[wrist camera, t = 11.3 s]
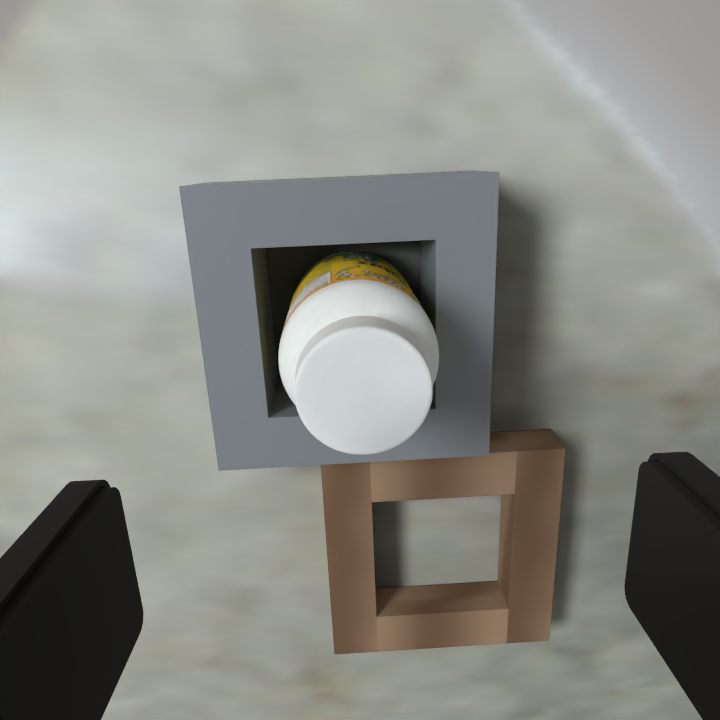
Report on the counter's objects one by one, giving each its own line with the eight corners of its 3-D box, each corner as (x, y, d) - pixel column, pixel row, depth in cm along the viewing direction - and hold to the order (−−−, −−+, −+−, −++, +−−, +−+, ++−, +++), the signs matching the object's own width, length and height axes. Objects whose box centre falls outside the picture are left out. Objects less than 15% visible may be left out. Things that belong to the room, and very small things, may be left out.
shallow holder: (549, 429, 28) (565, 448, 26) (536, 611, 31) (549, 640, 29) (321, 441, 27) (320, 462, 25) (334, 624, 31) (334, 654, 29)
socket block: (473, 170, 23) (499, 172, 20) (467, 414, 27) (489, 455, 23) (204, 182, 23) (179, 186, 19) (235, 427, 27) (218, 470, 23)
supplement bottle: (267, 310, 25) (227, 395, 16) (352, 222, 24) (361, 258, 15) (354, 389, 26) (362, 508, 17) (438, 309, 25) (495, 391, 16)
